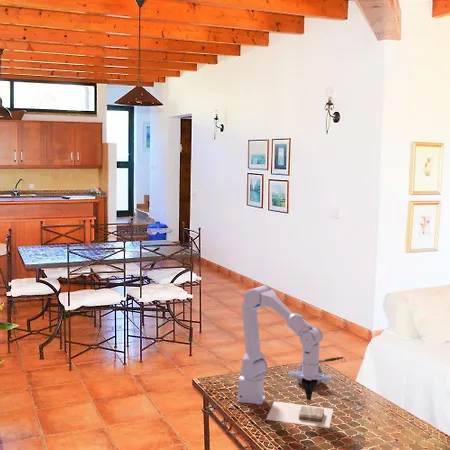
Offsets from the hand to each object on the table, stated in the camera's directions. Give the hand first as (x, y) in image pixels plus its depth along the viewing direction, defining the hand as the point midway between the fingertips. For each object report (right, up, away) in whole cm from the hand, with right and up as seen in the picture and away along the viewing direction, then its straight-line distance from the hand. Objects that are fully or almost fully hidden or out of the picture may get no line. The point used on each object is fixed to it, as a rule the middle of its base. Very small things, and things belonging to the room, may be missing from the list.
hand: (309, 399), depth 211 cm
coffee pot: (+8, -4, +29) cm, 31 cm away
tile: (-3, -5, +1) cm, 6 cm away
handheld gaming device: (+13, -6, +13) cm, 20 cm away
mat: (-3, -7, +3) cm, 8 cm away
